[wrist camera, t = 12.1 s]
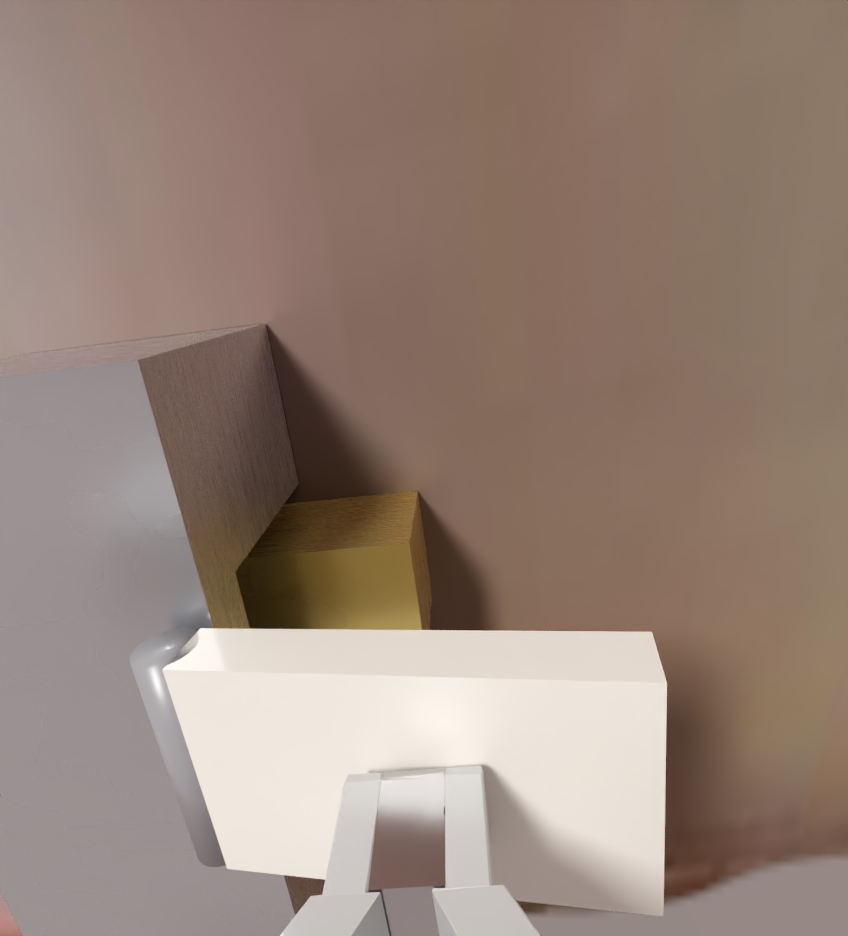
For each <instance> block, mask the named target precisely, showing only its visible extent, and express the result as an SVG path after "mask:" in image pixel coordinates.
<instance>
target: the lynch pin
mask: <svg viewBox="0 0 848 936" xmlns="http://www.w3.org/2000/svg"><path fill="white" fill-rule="evenodd" d="M235 573H236V577H237V581H238V585H239V588H240V592H241V596H242V600H243V604H244V608H245V611H246V615H247V619H248V623H249V627H250V629H353V630H430V615H431V600H432V590H431V583H430V576H429V568H428V561H427V554H426V546H425V539H424V532H423V524H422V517H421V510H420V502H419V495H418V491H411V492H400V493H390V494H380V495H370V496H360V497H349V498H339V499H329V500H319V501H309V502H298V503H288V504H284V505H283V506H282V508H281V509H280V511H279V512H278V513H277V515H276V516H275V517H274V519H273V520H272V522H271V523H270V524H269V526H268V527H267V528H266V530H265V531H264V533H263V534H262V535H261V537H260V538H259V540H258V541H257V542H256V544H255V545H254V546H253V548H252V549H251V551H250V552H249V553H248V555H247V556H246V558H245V559H244V560H243V562H242V563H241V564H240V566H239V567H238V569H237V570H236V571H235Z"/></svg>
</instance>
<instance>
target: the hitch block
mask: <svg viewBox="0 0 848 936" xmlns="http://www.w3.org/2000/svg"><path fill="white" fill-rule="evenodd" d="M298 484H299V482H298V477H297V472H296V467H295V462H294V458H293V453H292V448H291V443H290V438H289V434H288V429H287V424H286V419H285V414H284V410H283V405H282V400H281V395H280V390H279V385H278V381H277V376H276V371H275V366H274V361H273V357H272V352H271V347H270V342H269V337H268V333H267V328H266V324H258V325H250V326H242V327H234V328H226V329H218V330H211V331H203V332H195V333H187V334H179V335H171V336H163V337H155V338H148V339H140V340H132V341H124V342H116V343H108V344H100V345H93V346H85V347H77V348H69V349H61V350H53V351H45V352H38V353H30V354H23V355H18V356H13V357H8V358H3V359H0V892H1V894H2V896H3V898H4V900H5V902H6V904H7V906H8V908H9V910H10V912H11V914H12V916H13V917H14V919H15V921H16V923H17V925H18V927H19V929H20V931H21V933H22V935H23V936H280V934H281V933H282V932H283V931H284V929H285V928H286V927H287V926H288V924H289V923H290V922H291V920H292V919H293V918H294V917H295V915H296V914H297V913H298V912H299V910H300V909H301V908H302V906H303V905H304V904H305V903H306V901H307V900H308V899H309V898H310V896H315V895H322V892H323V887H324V882H325V880H324V879H315V878H306V877H296V876H287V875H278V874H269V873H260V872H251V871H242V870H233V869H227V867H226V865H224V866H220V867H208V866H205V865H203V864H202V863H201V862H200V861H199V860H198V857H197V855H196V852H195V849H194V846H193V843H192V840H191V837H190V835H189V832H188V829H187V826H186V823H185V820H184V817H183V814H182V811H181V809H180V806H179V803H178V800H177V797H176V794H175V791H174V788H173V786H172V783H171V780H170V777H169V774H168V771H167V768H166V765H165V762H164V760H163V757H162V754H161V751H160V748H159V745H158V742H157V739H156V737H155V734H154V731H153V728H152V725H151V722H150V719H149V716H148V713H147V711H146V708H145V705H144V702H143V699H142V696H141V693H140V690H139V688H138V685H137V682H136V679H135V676H134V673H133V670H132V667H131V664H130V661H129V660H130V656H131V654H132V652H133V651H134V650H135V648H136V647H137V646H139V645H140V644H141V643H142V642H144V641H145V640H147V639H149V638H150V637H152V636H154V635H157V634H159V633H162V632H165V631H168V630H172V629H178V628H188V629H192V630H195V631H196V632H197V631H198V630H199V629H200V628H227V629H250V627H249V623H248V619H247V615H246V611H245V608H244V604H243V600H242V596H241V592H240V588H239V585H238V581H237V577H236V573H235V571H236V570H237V569H238V567H239V566H240V564H241V563H242V562H243V560H244V559H245V558H246V556H247V555H248V553H249V552H250V551H251V549H252V548H253V546H254V545H255V544H256V542H257V541H258V540H259V538H260V537H261V535H262V534H263V533H264V531H265V530H266V528H267V527H268V526H269V524H270V523H271V522H272V520H273V519H274V517H275V516H276V515H277V513H278V512H279V511H280V509H281V508H282V506H283V505H284V504H285V502H286V501H287V499H288V498H289V497H290V495H291V494H292V493H293V491H294V490H295V488H296V487H297V486H298Z"/></svg>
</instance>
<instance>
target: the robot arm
mask: <svg viewBox="0 0 848 936" xmlns="http://www.w3.org/2000/svg"><path fill="white" fill-rule="evenodd" d="M280 936H541V935H540V933H539V932H538V930H537V929H536V928H535V926H534V925H533V924H532V922H531V921H530V920H529V918H528V917H527V915H526V914H525V912H524V911H523V910H522V908H521V907H520V906H519V904H518V903H517V901H516V900H515V899H514V897H513V896H512V895H511V893H510V892H509V890H508V889H507V888H506V886H505V885H496V882H495V871H494V862H493V853H492V845H491V836H490V827H489V819H488V810H487V801H486V792H485V784H484V775H483V769H482V766H481V765H477V766H464V767H451V768H436V769H424V770H412V771H395V772H384V773H365V774H348V776H347V779H346V781H345V783H344V785H343V789H342V795H341V800H340V805H339V810H338V816H337V821H336V826H335V831H334V837H333V842H332V847H331V852H330V858H329V863H328V868H327V873H326V879H325V884H324V889H323V894H322V895H315V896H310V898H309V899H308V900H307V901H306V903H305V904H304V905H303V906H302V908H301V909H300V910H299V912H298V913H297V914H296V915H295V917H294V918H293V919H292V920H291V922H290V923H289V924H288V926H287V927H286V928H285V929H284V931H283V932H282V933H281V934H280Z"/></svg>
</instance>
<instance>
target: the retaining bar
mask: <svg viewBox="0 0 848 936" xmlns="http://www.w3.org/2000/svg"><path fill="white" fill-rule="evenodd" d="M129 661H130V664H131V667H132V670H133V673H134V676H135V679H136V682H137V685H138V688H139V690H140V693H141V696H142V699H143V702H144V705H145V708H146V711H147V713H148V716H149V719H150V722H151V725H152V728H153V731H154V734H155V737H156V739H157V742H158V745H159V748H160V751H161V754H162V757H163V760H164V762H165V765H166V768H167V771H168V774H169V777H170V780H171V783H172V786H173V788H174V791H175V794H176V797H177V800H178V803H179V806H180V809H181V811H182V814H183V817H184V820H185V823H186V826H187V829H188V832H189V835H190V837H191V840H192V843H193V846H194V849H195V852H196V855H197V857H198V860H199V861H200V862H201V863H202V864H203V865H205V866H208V867H220V866H224V865H226V867H227V869H233V870H242V871H251V872H260V873H269V874H278V875H287V876H296V877H306V878H315V879H324V880H325V879H326V873H327V868H328V863H329V858H330V852H331V847H332V842H333V837H334V831H335V826H336V821H337V816H338V810H339V805H340V800H341V795H342V789H343V785H344V783H345V781H346V779H347V776H348V774H365V773H384V772H395V771H412V770H424V769H436V768H451V767H464V766H477V765H481V766H482V769H483V775H484V784H485V792H486V801H487V810H488V819H489V827H490V836H491V845H492V853H493V862H494V871H495V882H496V885H505V886H506V888H507V889H508V890H509V892H510V893H511V895H512V896H513V897H514V899H515V900H516V901H524V902H533V903H542V904H551V905H560V906H569V907H578V908H587V909H596V910H605V911H615V912H624V913H633V914H642V915H651V916H660V917H663V916H664V855H665V787H666V719H667V681H666V678H665V675H664V671H663V668H662V664H661V661H660V658H659V654H658V651H657V648H656V644H655V641H654V638H653V634H652V632H604V631H479V630H353V629H227V628H200V629H199V630H198V631H197V632H196V631H195V630H192V629H188V628H178V629H172V630H168V631H165V632H162V633H159V634H157V635H154V636H152V637H150V638H149V639H147V640H145V641H144V642H142V643H141V644H140V645H139V646H137V647H136V648H135V650H134V651H133V652H132V654H131V656H130V660H129Z"/></svg>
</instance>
